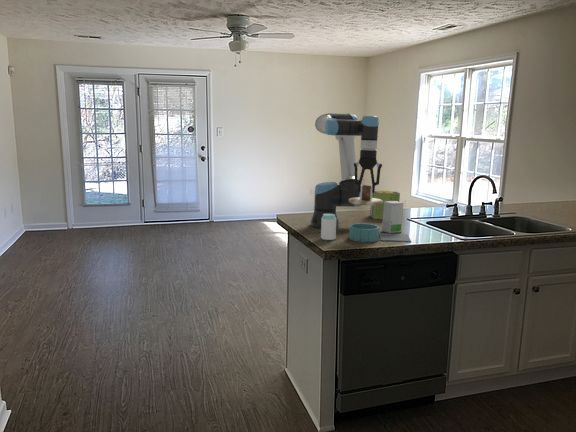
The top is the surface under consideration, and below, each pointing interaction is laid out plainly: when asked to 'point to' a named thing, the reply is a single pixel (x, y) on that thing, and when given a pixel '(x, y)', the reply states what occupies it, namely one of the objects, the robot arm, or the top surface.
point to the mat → (394, 237)
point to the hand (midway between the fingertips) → (365, 199)
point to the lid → (365, 198)
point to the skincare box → (392, 216)
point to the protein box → (377, 210)
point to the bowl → (364, 232)
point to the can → (328, 227)
